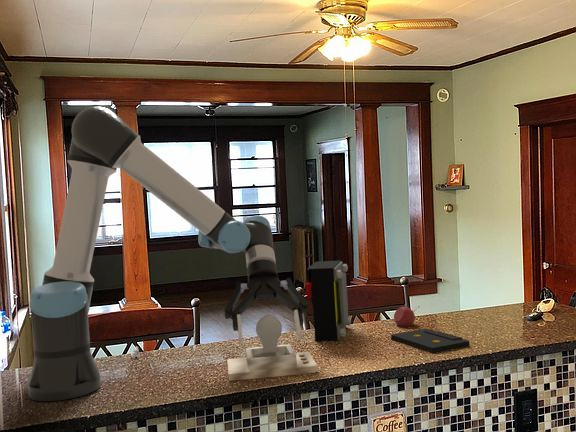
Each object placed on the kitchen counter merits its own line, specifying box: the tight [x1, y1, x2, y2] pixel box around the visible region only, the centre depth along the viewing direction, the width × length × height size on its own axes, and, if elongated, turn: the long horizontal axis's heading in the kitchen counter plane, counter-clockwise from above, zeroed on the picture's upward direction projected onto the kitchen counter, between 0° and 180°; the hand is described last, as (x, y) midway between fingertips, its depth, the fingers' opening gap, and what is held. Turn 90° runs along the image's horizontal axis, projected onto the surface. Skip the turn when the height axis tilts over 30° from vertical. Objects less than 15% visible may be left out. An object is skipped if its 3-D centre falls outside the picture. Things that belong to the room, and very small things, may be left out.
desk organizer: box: [226, 344, 319, 382], centre depth 141 cm, size 20×13×4 cm, turn 97°
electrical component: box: [304, 260, 352, 342], centre depth 173 cm, size 18×10×20 cm, turn 168°
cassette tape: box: [390, 328, 470, 354], centre depth 157 cm, size 18×12×2 cm, turn 24°
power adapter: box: [130, 346, 140, 359], centre depth 160 cm, size 3×3×3 cm
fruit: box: [393, 306, 420, 328], centre depth 179 cm, size 6×6×8 cm
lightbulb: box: [255, 315, 283, 357], centre depth 141 cm, size 6×6×11 cm
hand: (270, 339), depth 139 cm, fingers open, 13 cm apart
